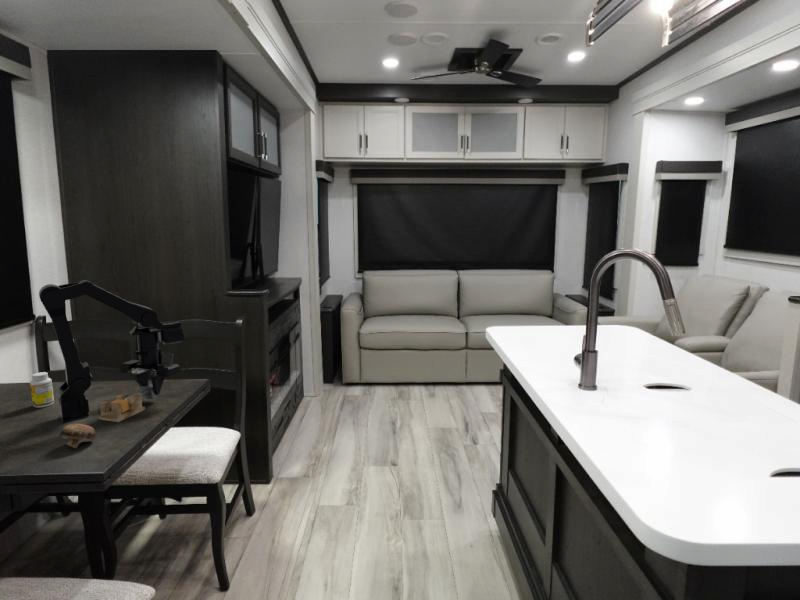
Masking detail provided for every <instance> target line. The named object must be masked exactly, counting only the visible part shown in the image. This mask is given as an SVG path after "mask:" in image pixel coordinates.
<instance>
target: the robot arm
mask: <svg viewBox="0 0 800 600" xmlns="http://www.w3.org/2000/svg"><path fill="white" fill-rule="evenodd" d="M38 292H39V293H38V296H39V300H40V302H41V304H42V305H43V307H44V309H45V310H46V312H47V314H48V317H50V319H51V323H52V326H53V328H54V332H55V334H56V339H57V342H58V344H59V348H60V351H61V354H62V357H63V360H64V370H65V372H64V373H65V381H64V382H63V383H62V384H61V385H60V386H59V387H58V391H59V395H60V397H58V404H59V405H58V406H59V416H58V417H59V418H60V420H61V421H62V422H63V423H65V422H70V421H73V420H79V419H84V418H87V417H89V416H90V415H89V413H90V407H89V399H88V398H87V397H86V394H85V392H86V391H88V390H89V389H90V387H91V385H92V380H93V379H94V378H93V375H92V374H91V372H90V371H91V370H90V365H89V364H88V361H85V362H82V361H81V359H80V357H79V354H78V350H77V347H76V344H75V341H74V338H73V334H72V331H71V328H70V324H69V321H68V318H67V307H66V301H70V300H72V299H75V298H79V297H82V296H87V297H90V298H92V299H93V300H96V301H99V303H102V304H104V305H106V306H109V307H111V308H113V309H115V310H117V311H119V312H121V313H123V314H124V315H126V316H127V317H128V318H130V319H131V320H133V321H134V322H136V323H137V324H139V326H142V327H138V326H134V327H133V328H132V329H131V330H130V331H129V334H130V335H131V336H136V337H137V349H138V350H136V351H134V352H135V355H136V356H138V359H131V360H128V361H125V362H123V363H121V365H120V366H119V369H120V373H122V374H123V373H124V374H128V373H129V376H131V377H132V378H133V380H134V381H135V382H136V383H137V384H138V386H139V388H140V389H141V390H142V386H143V385H145V384H149V378H150V381H151V384H152V385H153V388H154V392H155V394H156V395H160V393H161V390H162V386H163V383H164V381H165V378H170V377H172V376H174V375H177V374H179V373H181V368H180V365H179V364H178V363H173V359H174V353H169V352H168V353H167V352H163V349H162V347H159V342H160V343H162V344H163V345H165V346H166V345H171V344H173V345H174V344H178V343H179V344H180V343H183V342H184V340H185V332H184V331H183V327H182V324H181V322H180V321H174V322H170V323H169V322H168V323H163V322H162V321H161V320H159V319H158V313H157V312H156V311H155V310H153V309H152V308H150V307H149V306H145V305H142V304H139V303H135V302H131V301H128V300H126V299H123V298H122V297H120V296H118V295H116V294H115V293H112V292H110V291H107V290H106V289H104V288H102V287H100V286H98V285H96V284H94V283H92V282H91V281H89V280H84V279H83V280H80V281H77V282H76V281H75V282H72V283H65V284H60V285H58V284H57V285H56V284H51V283H50V284H49V283H48V284H46V285H45V284H44V285H43V286H42V287H41V288H40V289H39V291H38ZM150 327H152V328H153V329H152V328H151V329H150ZM165 363H166V364H165ZM130 371H131V373H130ZM151 372H154V375H151V376H150V377H149V374H150V373H151Z"/></svg>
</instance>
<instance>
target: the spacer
mask: <svg viewBox="0 0 800 600" xmlns="http://www.w3.org/2000/svg"><path fill="white" fill-rule="evenodd" d="M114 403H120V405H121V413H123V412H125V411H127V410H129V404H128V400H122V399H116V398H115V399H114V400H112V401H109V405H110V409H111V410H112V405H111V404H114Z"/></svg>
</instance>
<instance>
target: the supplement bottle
mask: <svg viewBox="0 0 800 600" xmlns="http://www.w3.org/2000/svg"><path fill="white" fill-rule="evenodd" d="M31 376H32V377H31V379H32V380H31V381H30V382H29V386H30V393H31V395H30V396H31V403H32V406H33V407H34V408H36V409H37V408H46V407H49V406H51V405H53V404H54V403H55V399H54V389H53V382H52V381H53V380H52V378H50V377H49V375H48V372H46V371H43V372H41V371H40V372H35V373H33V374H32V375H31Z"/></svg>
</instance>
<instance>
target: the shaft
mask: <svg viewBox="0 0 800 600" xmlns="http://www.w3.org/2000/svg"><path fill="white" fill-rule="evenodd" d="M135 394H141V398H142V399H148V400H154V399H157V398H158V397H160V396H159V395H160V394H159V395H156V394H155V392H154V388H153V385H152V383H148V384H145V385H143V386H142V389H141V391H140V392H136V393H135ZM135 394H132V395H130V396H129V397H131V396H133V395H135ZM127 398H128V397H127ZM127 398H125V399H122V400H127Z"/></svg>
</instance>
